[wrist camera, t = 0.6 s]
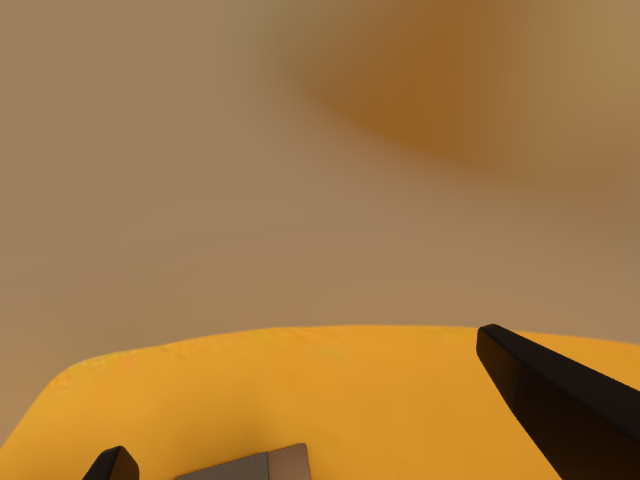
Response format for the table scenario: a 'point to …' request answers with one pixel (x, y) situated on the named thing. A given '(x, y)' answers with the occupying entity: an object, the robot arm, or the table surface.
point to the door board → (289, 463)
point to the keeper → (235, 470)
